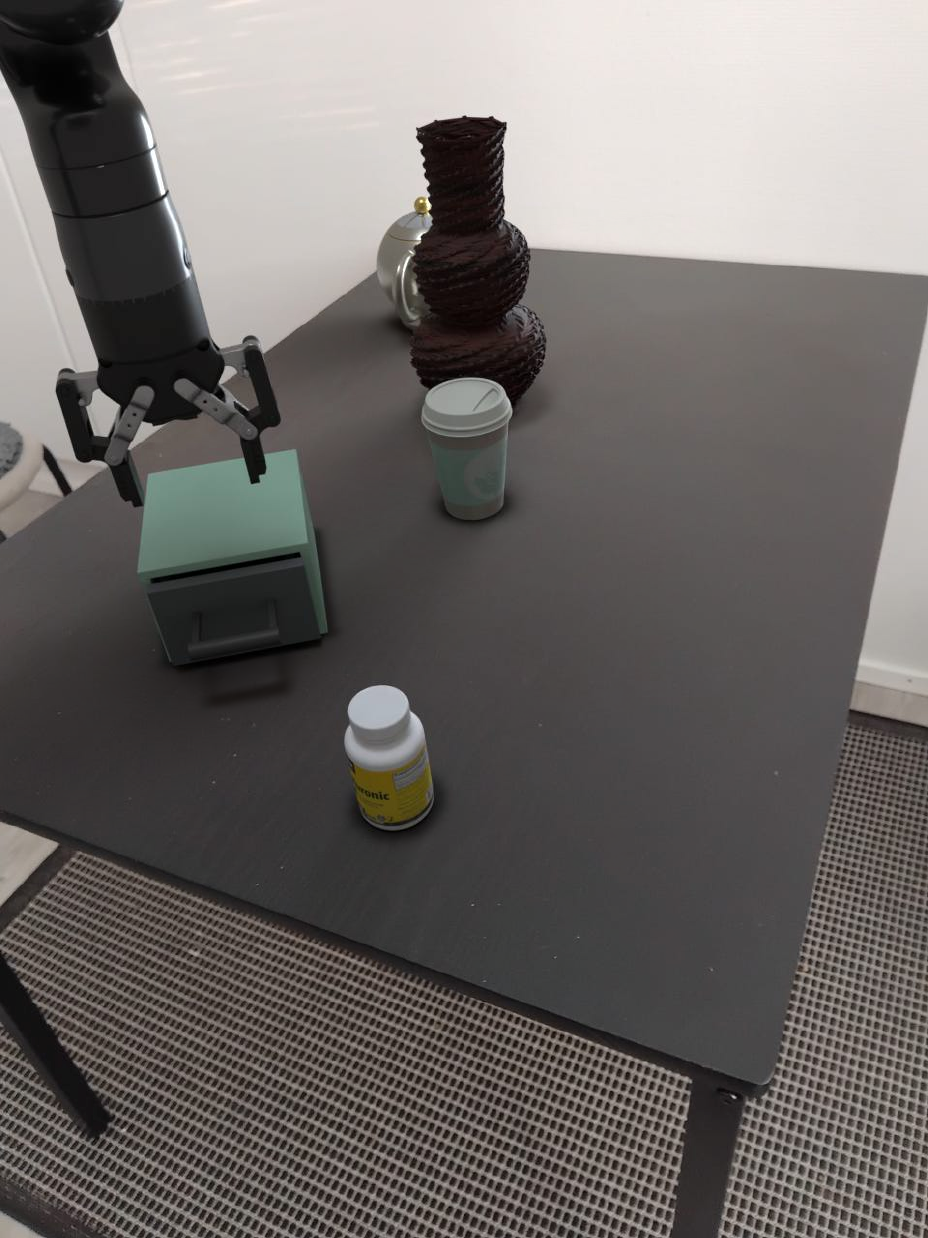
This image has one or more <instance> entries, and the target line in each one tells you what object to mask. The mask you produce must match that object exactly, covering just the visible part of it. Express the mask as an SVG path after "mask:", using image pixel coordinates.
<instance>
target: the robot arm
mask: <svg viewBox="0 0 928 1238" xmlns="http://www.w3.org/2000/svg"><path fill="white" fill-rule="evenodd" d="M124 4H125V0H0V74H1V75H2V77H3V80H4V81H5V85H6V86H7V88H8V90H9V92H10V94H11V96H12V98H13V100H14V103H15V105H16V108H17V109H18V112H19V115H20V117H21V120H22V123H23V125H24V129H25V132H26V137H27V140H28V143H29V147H30V151H31V155H32V157H33V160H34V164H35V167H36V170H37V174H38V176H39V179H40V182H41V186H42V188H43V191H44V194H45V196H46V199H47V202H48V205H49V206H48V207H49V208H50V211H51V215H52V219H53V223H54V227H55V232H56V237H57V238H56V239H57V242H58V247H59V251H60V254H61V257H62V260H63V263H64V266H65V269H64V272H65V275H66V277H67V278H66V279H67V280H68V282H69V285H70V286H71V287H72V289H73V292H74V295H75V298H76V301H77V304H78V308H79V311H80V313H81V315H82V319H83V322H84V324H85V327H86V330H87V332H88V336H89V339H90V342H91V345H92V348H93V351H94V354H95V357H96V360H97V370H89V371H81V372H76V371H75V370H74V369H72V368H69V367H64V368H61V369H60V370H59V371H58V374H57V377H56V382H55V383H56V384H55V395H56V399H57V401H58V405H59V408H60V411H61V415H62V418H63V421H64V425H65V427H66V431H67V434H68V437H69V440H70V441H69V442H70V444H71V447H72V451H73V453H74V457H75V458H76V460H77V462H80V463H83V464H87V463H90V462H92V461H95V462H96V461H97V462H102V463H104V464H106V465H107V466H108V467H109V469H110V472H111V475H112V477H113V480H114V483H115V486H116V488H117V491H118V495H119V497H120V498H121V499H122V501H124V502H125V503H126V502H130V503H131V504H132V507H133V508H134V509H135V508H141V507H144V505H145V492H144V488H143V485H142V482H141V480H140V477H139V474H138V471H137V467H136V465H135V462H134V458H133V456H132V453H131V450H130V449H129V448H130V445H131V443H133V442H134V439H135V438H136V435H137V433H138V431H139V429H140V427H141V424H142V423H146V424H151V426H152V427H158V426H163V425H166V424H168V423H171V422H172V421H190V420H196V419H198V418H199V415H201V414H203V413H205V414H206V415H208V416H209V417H211V419H213V420H214V421H216V422H217V423H218V424H220V425H223V426H226V427H227V428H229V429H230V430H232V431H233V432H235V433H236V434H237V435H238V436H239V443H240V447H241V452H242V455H243V458H244V459H245V463H246V467H247V471H248V475H249V479H250V483H251V484H256V483H260V477H259V475H264V474H265V473H266V469H267V467H266V461H265V456H264V454H265V452H264V448H263V445H262V440H261V434H262V432H263V431H265V430H266V429H268V428H276V427H278V426H279V425H280V424H281V422H282V417H281V413H280V407H279V403H278V400H277V396H276V393H275V389H274V386H273V382H272V380H271V376H270V373H269V369H268V366H267V362H266V359H265V355H264V352H263V349H262V345H261V342H260V340H259V338H258V337H257V336H256V335H253V334H252V335H251V334H248V335H246V336H245V337H243V339H242V341H241V343H239V344H235V345H230V346H226V347H223V348H222V347H221V348H220V347H219V346H218V345H217V344H216V342H215V341H214V340H213V338H212V336H211V332H210V328H209V324H208V320H207V315H206V312H205V309H204V305H203V304H204V303H203V301H202V296H201V293H200V289H199V286H198V281H197V277H196V274H195V269H194V267H193V263H192V262H193V261H192V256H191V253H190V250H189V247H188V243H187V239H186V235H185V232H184V231H185V230H184V229H183V225H182V221H181V218H180V217H179V214H178V212H177V209H176V207H175V204H174V202H173V199H172V196H171V193H170V189H169V188H168V187H169V185H168V182H167V178H166V175H165V174H166V173H165V171H164V167H163V162H162V159H161V155H160V152H159V147H158V143H157V139H156V136H155V133H154V130H153V127H152V123H151V120H150V118H149V115H148V112H147V109H146V107H145V106H144V103H143V102H142V100H141V99H140V97H139V95H138V94H136V92H135V91H134V90H133V87H131V86H130V84H129V83H128V82H127V80H126V78H125V77H124V75H123V72H122V70H121V67H120V63H119V61H118V58H117V55H116V51H115V48H114V44H113V42H112V38H111V35H110V33H109V30H110V29H111V28H112V26H113V25H114V24H115V23H116V21H117V20H118V18H119V17H120V15H121V12H122V10H123V7H124ZM226 367H232V369H235V371H236V373H237V374H238V376H239V377H241V378H246V379H247V378H250V380H251V385H252V388H253V391H254V394H255V398H256V400H257V404H258V405H256V406H254V407H253V408H250V409H249V408H248V407H247V406H245V404H243V403H242V402H240V401H239V400H238V399H237V398H236V397H235V396H234V395H233V394H232V393H231V391H230V390H228V389H227V388H226V387H225V386H223V384H221V383H220V380H221V379H222V377H223V374H224V372H225V369H226ZM96 390H100V392H101V393H103V395H105V396H106V397H108V398H109V399H110V400H112V401H113V402H115V403H116V404H117V405H119V407H118V409H117V411H116V414H115V417H114V420H113V422H112V425H111V427H110V429H109V432H108V434H107V435H106V436H103V435H95V433H94V430H93V425H92V422H91V419H90V415H89V411H88V409H87V407H88V406H90V405H91V404H92V401H93V396H94V395H93V394H94V392H95V391H96Z"/></svg>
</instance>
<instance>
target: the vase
mask: <svg viewBox="0 0 928 1238" xmlns="http://www.w3.org/2000/svg"><path fill="white" fill-rule="evenodd" d="M507 126H508V122H507V121H501V120H500V119H497V118H495V117H494V115H491V116H490V115H489V116H488V117H481V116H480V117H479V116H467V115H466V114H464V115H461V117H453V118H446V119H445V118H444V119H439V120H438V119H433V122H430V123H427V124H425V125H422V126H419V127H417V126H416V127H415V130H416V135H415V139H416V140H417V142H418V143H419V144H420V145H422V148H420V150H419V151H420V154H421V156H422V157H423V158H424V161H423V162H422V163H421V165H422V168H423V169H424V170H425V172H424V173H423V176H424V179H425V180H426V181H428V183H429V184H428V185H427V186H426V191H427V193H428V194H429V196H428V197H427V199H428V202H429V203H430V210H429V214H430V215H431V216H432V218H433V219H432V220H431V221H432V224H433V225H432V226H431V227H430V229H429V231H428V232H426V233H423V234H422V235H421V237H420V238H421V242H420V243H419V244H418V245H415V246H414V250H415V255H414V256H413V257H412V261H413V262H415V263H416V264H417V266H414V268H412V269H413V270H412V271H413V272H414V273H415V274H416V275H417V278H416V279H415V281H416V283H418V284H420V285H421V287H420V288H418V292H419V294H422V295H423V296H424V297H425V299H424V302H425V303H426V304H429V305H430V309H428V310H429V311H430V312H432V313H429V314H428V315H424V316H423V317H422V318H421V319H420V324H419V326H418V327H416V328H415V329H413V330H412V333H413V335H411V337H409V338H408V345H409V347H411V349H410V351H409V355H410V356H411V358H410V361H409V363H410V365H411V367H412V368H414V369H416V370H415V373H416V376H418V377H419V378H420V379H419V380H418V381H419V384H420V385H421V386H423V387H424V388H425V389H426V388H427V389H428V392H429V391H430V390H431V389H432V388H434V387H435V386H437V385H439V384H441V383H444V382H446V381H450V380H454V379H460V378H482V379H487V380H491V381H494V382H496V383H498V384H499V385H501V386H502V387H503V389H504V390H505V393H506V396H507V398H508V399H509V401H510V404H511V408H512V413H513V412H514V409H515V408H516V407H517V404H518V402H519V401H520V400H522V397H523V395H524V394H525V393H527V390H529V389H530V387H531V386H532V385H533V383H534V381H535V379H536V378H537V376H538V375H539V374H540V372H541V370H542V367H543V366H544V364H545V359H546V351H547V336H546V333H545V331H544V329H545V327H544V324H543V323H542V320H541V318H540V317H539V316H538V314H537V313H536V312H535V311H533V310H531V309H530V308H529V307H527V306H525V305H521V304H519V303H520V301H521V300H522V299H523V298H524V296H525V293H526V290H527V288H526V286H527V284H528V279H529V277H530V263H529V262H530V261H531V258H532V257H531V256H532V255H531V249H530V248H529V245H528V241H527V239H526V236H525V235H524V234H523V232H522V231H521V230H520V229H519V228H518V227H517V226H516V225H515V224H513V223H512V222H509V221H508V220H506V219H505V215H506V211H505V203H506V196H505V194H504V193H505V191H504V185H503V184H504V179H505V174H504V167H505V159H506V157H505V156H506V152H505V149H504V146H503V145H504V142H505V137H506V133H507V131H508V130H507V129H508V127H507ZM439 228H440V229H439ZM428 317H429V318H428Z"/></svg>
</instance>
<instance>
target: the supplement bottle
mask: <svg viewBox="0 0 928 1238" xmlns="http://www.w3.org/2000/svg"><path fill="white" fill-rule="evenodd" d="M410 709H411V708H410V703H409V700H408V697H407V695H406V694H405V693H404V692H403V691H402V690H400V689H399V688H397V687H395V686H391V685H385V684H383V685H381V684H380V685H372V686H369V687H367V688H364V689H362V690H360V691H359V692H357V693H356V694H355V695H354V696H353V697H352V698H351V700H350V701H349V704H348V706H347V716H348V721H349V725H348V726H347V728H346V730H345V732H344V733H345V734H344V738H343V739H344V740H343V741H344V750H345V755H346V759H347V763H348V767H349V771H350V775H351V779H352V784H353V789H354V792H355V797H356V800H357V801H356V802H357V805H358V808H359V811H360V814H361V816H362V817H363V818H364V819H365V820H366V821H367V822H368V824H370V825H372V826H373V827H375V828H378V829H380V830H385V831H400V830H401V831H402V830H405V829H408V828H411V827H413V826H414V825H417V824H418V823H419V822H421V821H422V820H424V818H425V817H426V816H428V814H429V812H430V811H431V809H432V807H433V805H434V799H435V791H434V785H433V778H432V773H431V765H430V760H429V754H428V753H429V752H428V747H427V741H426V735H425V734H426V733H425V730H424V725H423V724H422V722H421V720H420V718H419V717H418V716H417V715H416V714H415V713H414V712H413V711H411V710H410Z"/></svg>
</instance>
